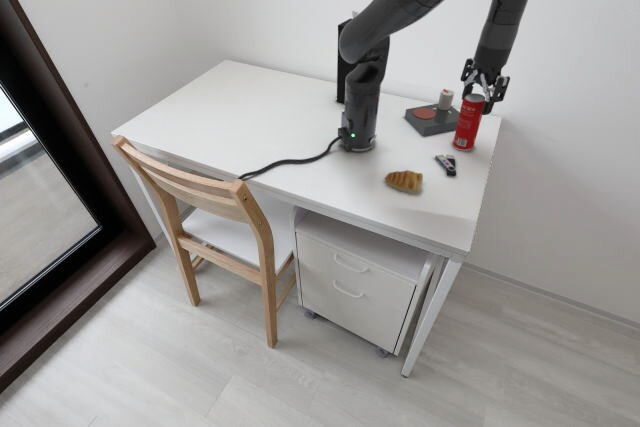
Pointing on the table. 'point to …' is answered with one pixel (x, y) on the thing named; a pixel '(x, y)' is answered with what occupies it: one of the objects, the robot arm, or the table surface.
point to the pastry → (405, 181)
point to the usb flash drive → (447, 164)
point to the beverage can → (468, 121)
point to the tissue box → (343, 65)
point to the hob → (434, 120)
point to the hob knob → (445, 99)
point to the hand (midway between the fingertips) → (474, 106)
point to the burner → (424, 113)
